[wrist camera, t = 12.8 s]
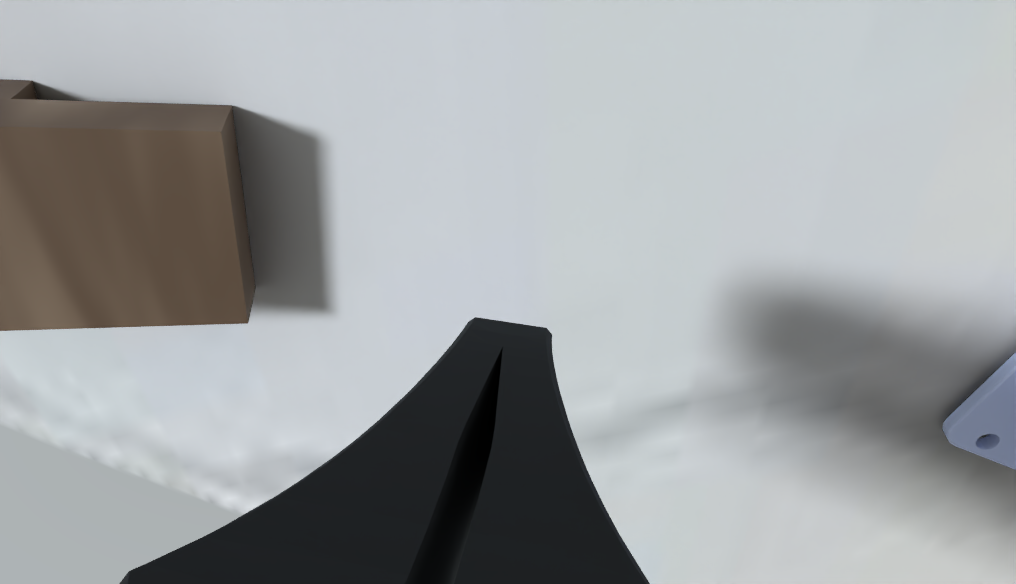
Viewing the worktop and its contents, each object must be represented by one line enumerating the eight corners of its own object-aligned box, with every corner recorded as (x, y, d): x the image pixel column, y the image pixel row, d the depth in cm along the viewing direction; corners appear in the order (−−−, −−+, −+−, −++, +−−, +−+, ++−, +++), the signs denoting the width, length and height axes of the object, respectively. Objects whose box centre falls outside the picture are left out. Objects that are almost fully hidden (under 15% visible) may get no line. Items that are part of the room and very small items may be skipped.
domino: (221, 131, 14) (-237, 121, 13) (247, 323, 17) (-126, 334, 16) (231, 105, 16) (-183, 93, 14) (255, 287, 19) (-89, 294, 17)
